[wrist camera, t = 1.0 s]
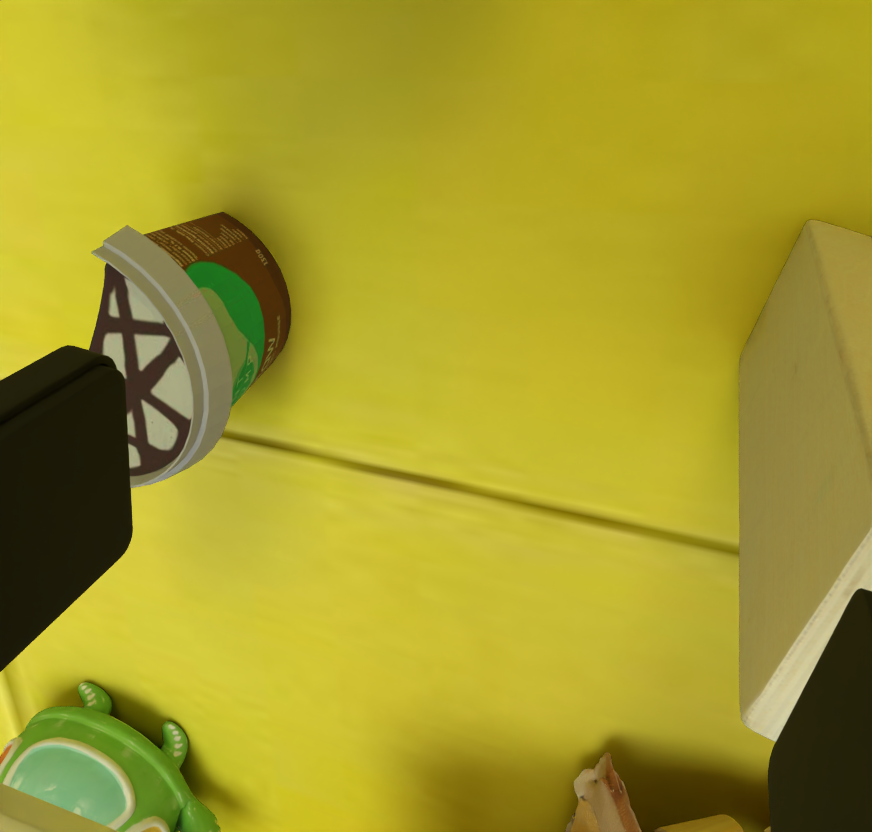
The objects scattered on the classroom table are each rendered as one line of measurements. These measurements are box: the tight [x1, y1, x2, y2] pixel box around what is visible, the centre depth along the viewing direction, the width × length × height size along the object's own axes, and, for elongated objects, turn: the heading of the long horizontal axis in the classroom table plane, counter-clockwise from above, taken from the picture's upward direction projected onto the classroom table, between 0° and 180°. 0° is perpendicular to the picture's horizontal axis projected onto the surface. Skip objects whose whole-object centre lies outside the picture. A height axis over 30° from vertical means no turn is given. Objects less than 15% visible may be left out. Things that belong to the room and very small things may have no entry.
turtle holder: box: [0, 682, 221, 832], centre depth 57 cm, size 12×18×12 cm
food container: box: [89, 212, 291, 488], centre depth 38 cm, size 12×6×10 cm, turn 158°
